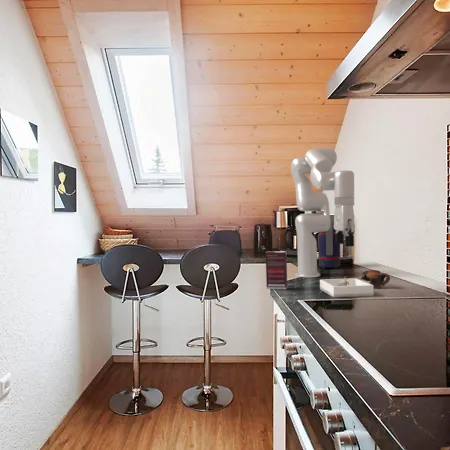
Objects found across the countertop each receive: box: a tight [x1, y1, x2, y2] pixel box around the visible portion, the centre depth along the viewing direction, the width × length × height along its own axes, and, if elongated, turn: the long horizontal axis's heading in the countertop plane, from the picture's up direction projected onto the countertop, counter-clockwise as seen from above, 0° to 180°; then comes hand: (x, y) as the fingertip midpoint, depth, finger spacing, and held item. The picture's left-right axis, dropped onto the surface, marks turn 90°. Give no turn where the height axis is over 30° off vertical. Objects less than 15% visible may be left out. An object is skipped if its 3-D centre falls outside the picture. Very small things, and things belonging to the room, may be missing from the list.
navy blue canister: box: [318, 215, 341, 270], centre depth 214 cm, size 14×12×30 cm
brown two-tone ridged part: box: [360, 269, 391, 290], centre depth 159 cm, size 12×10×8 cm
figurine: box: [338, 275, 349, 286], centre depth 150 cm, size 5×4×6 cm
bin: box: [319, 277, 375, 298], centre depth 150 cm, size 16×16×4 cm
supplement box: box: [265, 250, 288, 290], centre depth 160 cm, size 9×5×16 cm, turn 75°
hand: (344, 245), depth 150 cm, fingers open, 9 cm apart
